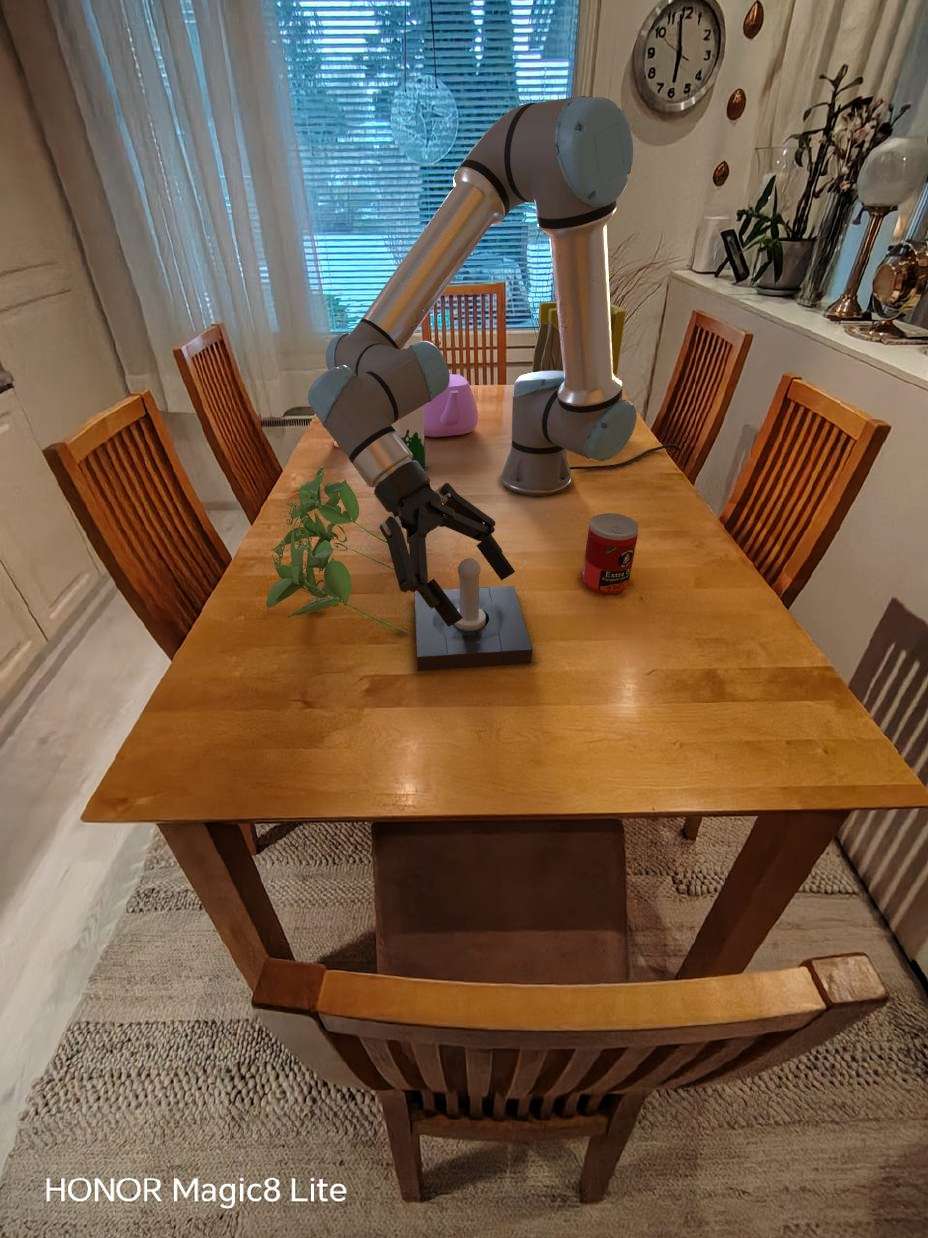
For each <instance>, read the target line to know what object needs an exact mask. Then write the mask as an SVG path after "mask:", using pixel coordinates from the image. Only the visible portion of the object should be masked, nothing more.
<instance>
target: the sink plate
mask: <svg viewBox="0 0 928 1238" xmlns="http://www.w3.org/2000/svg"><path fill="white" fill-rule="evenodd" d="M442 590H443V591H444V593H445V594H446V595H447V597H448V598H449V599H450V601H451V602H452V604H453V605H454V606H455V608H456V609H459V608H460V589H459V588H451V589H450V588H449V589H448V588H447V589H446V588H445V589H442ZM413 593H414V594H413V595H414V612H415V613H414V615H415V616H414V617H415V641H416V661H417V662H416V663H417V670H418V671H431V670H432V671H433V670H446V669H447V670H448V669H461V668H463V669H464V668H476V667H490V666H493V667H494V666H502V665H506V666H507V665H519V664H531V663H532V659H533V647H532V644H531V640H530V637H529V633H528V629H527V626H526V623H525V618H524V614H523V612H522V608H521V604H520V601H519V598H518V593H517V590H516V588H515V585H500V586H483V587H479V608H480V609H482V610H483V611H484V613H485V616H486V619H485V627H483V628H481V629H478V630H474V631H465V630H460V629H458V628H456V627H454V626H453V625H451V626H449V627H448V626H447V624H446V623H445V622H444V620H443V619H442V618H441V616H440V615H439V613H438V612H437V611H436V609H435V608H430V607H429V606H428V605H427V603H426V602H425V600H424V599H423V598H422V597H421V595H420V594H419V593H418V591H414V592H413Z"/></svg>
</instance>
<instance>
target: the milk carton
mask: <svg viewBox="0 0 928 1238" xmlns="http://www.w3.org/2000/svg"><path fill="white" fill-rule="evenodd" d="M391 425H392V427H393V428H394V429H395V431H396V432H397V434H398V435H399V437H400V438H401V439H402V441H403V442H404V443H405V445H406V446H407V447H408V449H409V450H410V451H411V453H412V454H413V457H412V459H411V460H412V461H417V462H418V463H419V464H420V466H421V467H422V468H423V470H425V469H426V445H425V444H426V443H425V442H426V441H425V436H424V421H423V406H421V407H420V408H418V409H416V410H414V411H413V412H411V413H409V414H408V415H406V416H404V417H403V418H401V419H399V420H397V421H396V422H395V423H393V424H391Z"/></svg>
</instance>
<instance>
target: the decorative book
mask: <svg viewBox="0 0 928 1238" xmlns="http://www.w3.org/2000/svg"><path fill="white" fill-rule="evenodd" d="M626 314H627V310H626V309H624V308H622V307H620V306H618V305H616V304H613V303H610V318H611V341H612V365H613V373H614V374H615V375H617V376H618V372H619V364H620V358H621V350H622V344H623V336H624V329H625V322H626ZM538 324H539V329H538V333H537V337H536V342H535V346H534V350H533V355H532V367H531V373H533V372H540V371H563V362H562V352H561V343H560V333H559V324H558V314H557V305H556V301H543V302H541V301H540V302H539V304H538Z"/></svg>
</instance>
